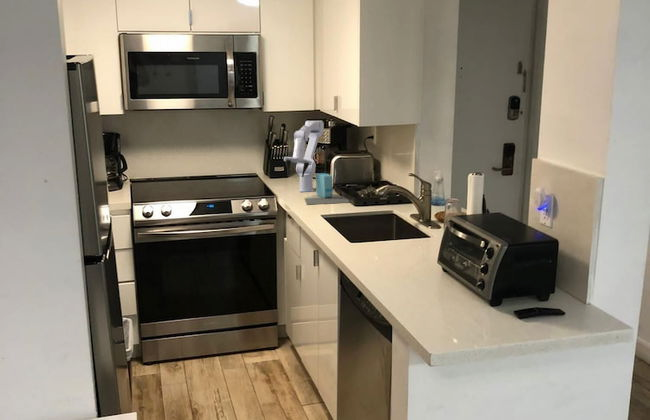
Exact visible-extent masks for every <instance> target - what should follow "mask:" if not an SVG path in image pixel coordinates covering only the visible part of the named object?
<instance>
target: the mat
mask: <svg viewBox="0 0 650 420" xmlns="http://www.w3.org/2000/svg"><path fill="white" fill-rule="evenodd" d="M304 201H305V203H306V205H307V206H310V205H328V204H329V205H330V204H333V205H334V204H349V203H351V202H350V200H349V199H348V198H347V199H346V198H345V197H344V196H332V197H330V198H323V197H309V198H308V197H307V198H304Z"/></svg>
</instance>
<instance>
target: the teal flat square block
mask: <svg viewBox="0 0 650 420" xmlns="http://www.w3.org/2000/svg"><path fill="white" fill-rule="evenodd" d="M315 188H316V191H315V193H316V195H317V196H318V197H319V198H330V197H334V194H333V177H332V174H329V173H326V172H317V173H316V174H315Z"/></svg>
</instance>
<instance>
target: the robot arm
mask: <svg viewBox="0 0 650 420" xmlns="http://www.w3.org/2000/svg"><path fill="white" fill-rule="evenodd" d="M324 125H325V124H324V121H323V120H306V121H305V123H304V125H302V127H301V128H300V129H299V130H296V131H295V132H294V133H293V143H294V146H293V154H292V156H284V157H283V162H285V165H286V167H285V168H286V171H287V175H288V176H289V175H290V172H291V171H290V170H291V169H290V167H291V163H294V164H295V163H296V165H295V166H296V167H295V171H296V174H298V176H299V187H298V191H299V192H300V193H306V192H315V189H314V184H313V182H314V179H313V175H314V174H315V173H316V167H317V164H316V162H315V160H314V159H313V158H314V155H315V153H316V148H317V145H318V142H319V139H320V138H321V137H322V135H323V133H324V129H325V128H324V127H325V126H324ZM306 142H307V143H308V144H307V147H306ZM305 148H306V149H305Z"/></svg>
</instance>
